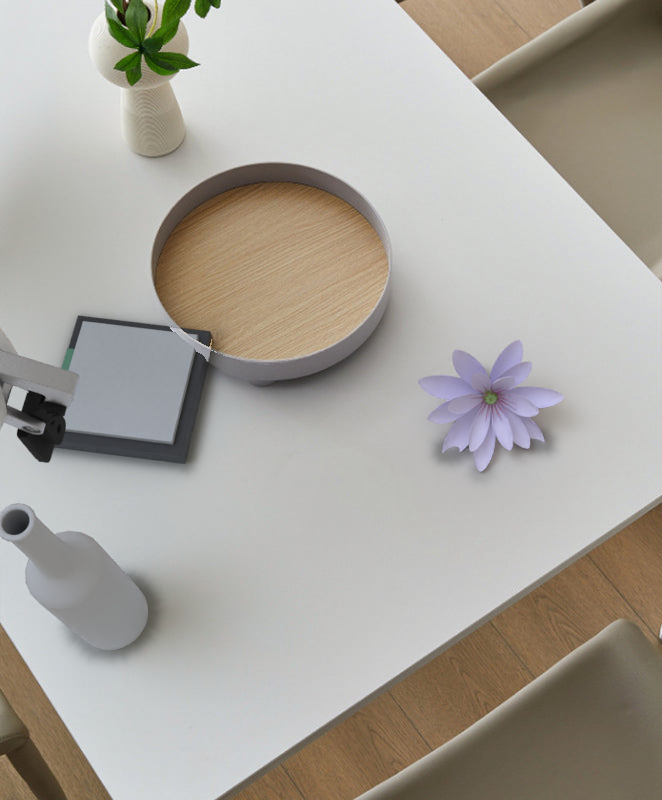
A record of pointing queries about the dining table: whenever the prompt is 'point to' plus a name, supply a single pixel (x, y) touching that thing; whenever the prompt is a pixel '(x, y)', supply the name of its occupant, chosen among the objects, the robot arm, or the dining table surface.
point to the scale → (133, 389)
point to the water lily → (488, 403)
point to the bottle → (76, 580)
